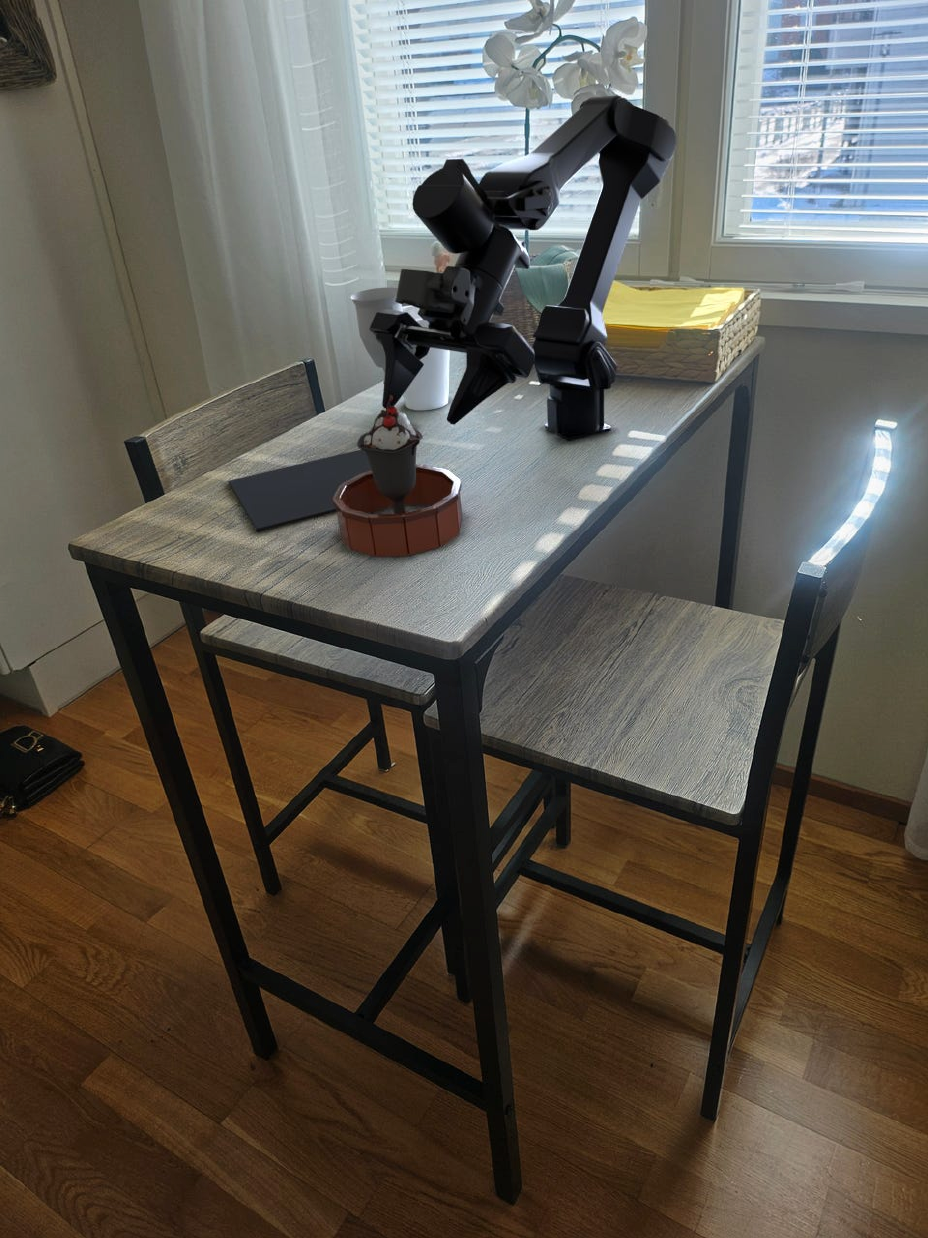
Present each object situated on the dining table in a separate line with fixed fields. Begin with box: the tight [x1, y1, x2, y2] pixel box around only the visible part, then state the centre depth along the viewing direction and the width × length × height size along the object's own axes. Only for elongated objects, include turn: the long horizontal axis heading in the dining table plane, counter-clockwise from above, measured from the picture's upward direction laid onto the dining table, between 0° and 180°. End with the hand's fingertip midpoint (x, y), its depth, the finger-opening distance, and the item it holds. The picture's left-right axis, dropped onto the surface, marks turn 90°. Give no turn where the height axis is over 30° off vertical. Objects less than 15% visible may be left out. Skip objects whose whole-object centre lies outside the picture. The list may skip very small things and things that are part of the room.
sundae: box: [356, 395, 424, 514], centre depth 90 cm, size 7×7×15 cm
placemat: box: [228, 449, 372, 533], centre depth 106 cm, size 20×16×1 cm
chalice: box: [349, 287, 413, 427], centre depth 116 cm, size 7×7×18 cm
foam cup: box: [402, 305, 450, 411], centre depth 126 cm, size 10×9×13 cm
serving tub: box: [333, 464, 464, 558], centre depth 93 cm, size 13×13×4 cm
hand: (417, 415), depth 91 cm, fingers open, 9 cm apart
